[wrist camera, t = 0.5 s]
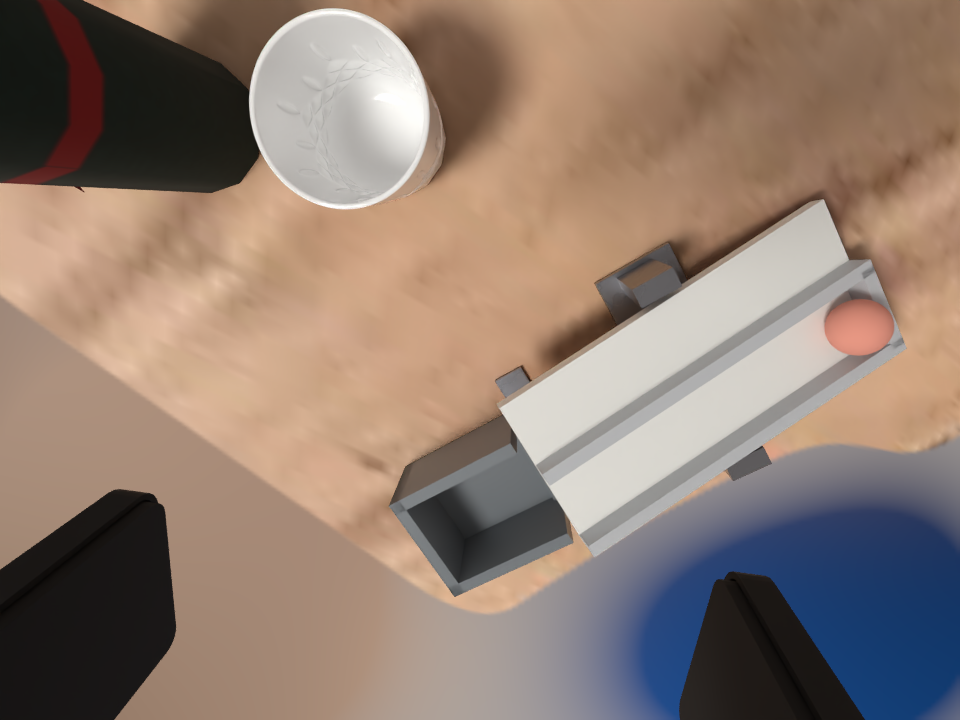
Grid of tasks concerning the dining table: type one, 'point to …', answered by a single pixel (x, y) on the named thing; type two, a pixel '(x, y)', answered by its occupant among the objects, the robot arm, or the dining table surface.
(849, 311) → the ball
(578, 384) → the seesaw
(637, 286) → the stand
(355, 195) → the white cup
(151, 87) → the wine bottle
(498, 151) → the dining table surface
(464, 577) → the grey open cubby box
